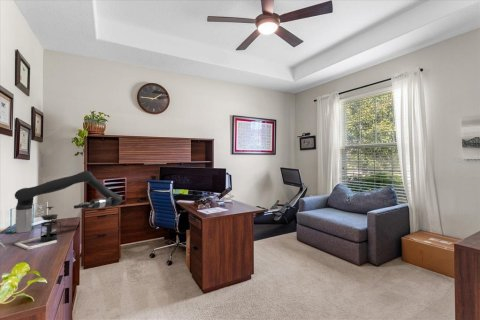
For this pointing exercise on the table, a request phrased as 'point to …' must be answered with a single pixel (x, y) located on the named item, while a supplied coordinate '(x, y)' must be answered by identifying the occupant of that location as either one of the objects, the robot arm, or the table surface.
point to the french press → (49, 227)
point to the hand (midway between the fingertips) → (74, 207)
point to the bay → (34, 245)
